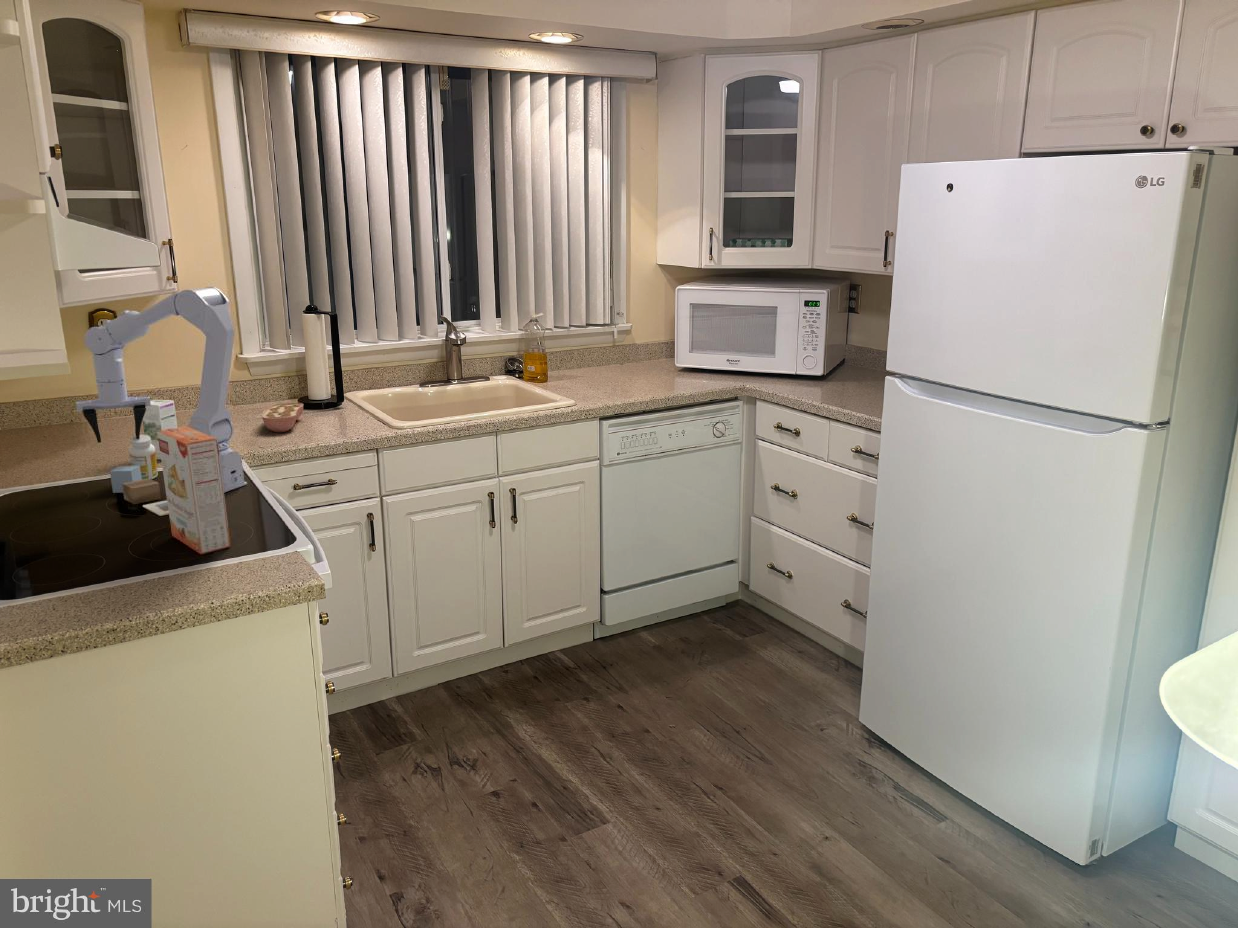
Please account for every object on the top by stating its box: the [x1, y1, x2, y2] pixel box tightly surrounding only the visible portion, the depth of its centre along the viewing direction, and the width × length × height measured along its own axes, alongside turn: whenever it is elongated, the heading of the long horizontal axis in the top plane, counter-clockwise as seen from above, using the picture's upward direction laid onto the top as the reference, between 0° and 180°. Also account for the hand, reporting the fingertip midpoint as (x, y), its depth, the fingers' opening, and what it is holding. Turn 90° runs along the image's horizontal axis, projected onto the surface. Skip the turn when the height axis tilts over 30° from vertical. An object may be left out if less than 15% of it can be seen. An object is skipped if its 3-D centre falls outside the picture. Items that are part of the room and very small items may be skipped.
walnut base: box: [122, 478, 162, 505], centre depth 200 cm, size 6×6×4 cm
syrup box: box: [142, 399, 178, 461], centre depth 233 cm, size 6×6×14 cm
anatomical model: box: [261, 401, 304, 433], centre depth 269 cm, size 23×10×5 cm, turn 10°
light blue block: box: [109, 465, 142, 494], centre depth 207 cm, size 4×4×5 cm
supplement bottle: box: [128, 434, 159, 480], centre depth 214 cm, size 5×5×10 cm
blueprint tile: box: [142, 499, 169, 517], centre depth 194 cm, size 9×6×1 cm, turn 47°
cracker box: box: [157, 426, 232, 555], centre depth 171 cm, size 14×6×21 cm, turn 45°
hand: (118, 439), depth 210 cm, fingers open, 7 cm apart
